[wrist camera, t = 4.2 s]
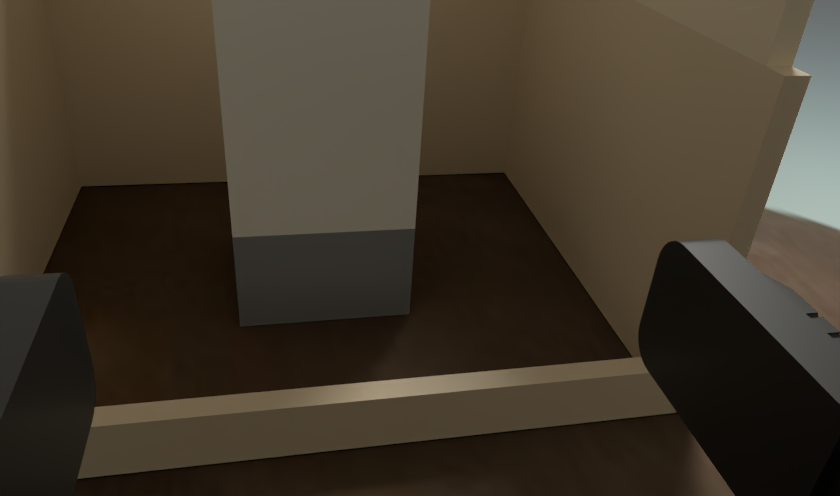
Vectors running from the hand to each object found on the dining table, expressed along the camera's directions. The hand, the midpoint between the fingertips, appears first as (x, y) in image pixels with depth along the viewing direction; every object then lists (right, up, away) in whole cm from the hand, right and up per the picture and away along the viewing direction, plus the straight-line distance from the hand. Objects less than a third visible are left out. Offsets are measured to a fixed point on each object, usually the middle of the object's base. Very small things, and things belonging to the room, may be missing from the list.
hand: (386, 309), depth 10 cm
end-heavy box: (-3, 0, +13) cm, 14 cm away
